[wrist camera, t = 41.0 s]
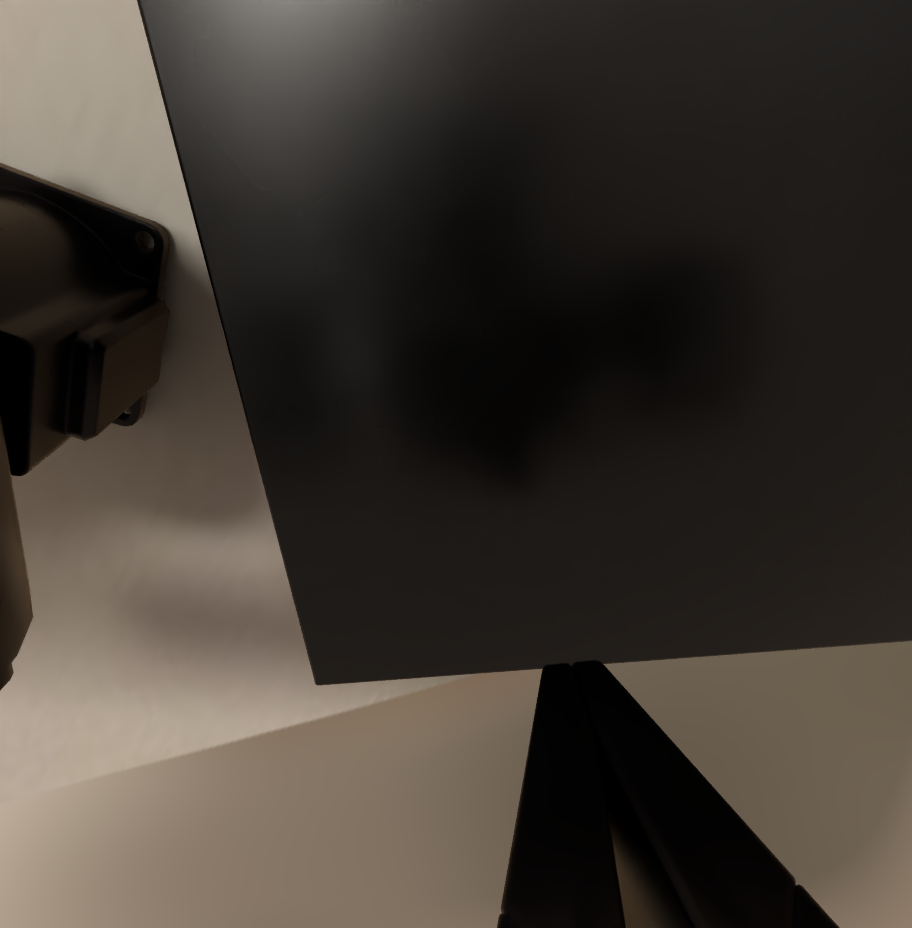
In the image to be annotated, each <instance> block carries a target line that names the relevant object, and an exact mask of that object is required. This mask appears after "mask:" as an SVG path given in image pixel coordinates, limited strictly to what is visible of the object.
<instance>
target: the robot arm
mask: <svg viewBox="0 0 912 928" xmlns="http://www.w3.org/2000/svg"><path fill="white" fill-rule="evenodd" d="M143 231H144V232H147V233H149V234H150V235H151V236H152V238H153V239H154V247H153V248H149V247H147V246H145V245H144V243H143V242H142V239H141V234H142V232H143ZM168 250H169V238H168V236H167V234H166V231H165V230H164V229H163V228H162V227H161V226H160V225H159V224H157V223H155V222H154V221H151V220H149V219H146V218H143V217H141V216H138V215H136V214H133V213H130V212H128V211H125V210H122V209H120V208H117V207H114V206H112V205H109V204H107V203H104V202H101V201H99V200H96V199H93V198H91V197H88V196H86V195H83V194H80V193H78V192H75V191H72V190H70V189H67V188H64V187H62V186H59V185H57V184H54V183H51V182H49V181H46V180H43V179H41V178H38V177H35V176H33V175H30V174H28V173H25V172H22V171H20V170H17V169H14V168H12V167H9V166H7V165H4V164H1V163H0V690H1V689H2V688H3V687H4V686H5V685H6V684H7V683H8V682H9V681H10V679H11V677H12V675H13V668H12V661H13V660H14V659H15V657H16V656H17V654H18V652H19V650H20V647H21V645H22V643H23V640H24V638H25V635H26V633H27V631H28V628H29V626H30V623H31V621H32V618H33V612H32V604H31V595H30V587H29V581H28V575H27V569H26V563H25V557H24V551H23V544H22V538H21V532H20V526H19V520H18V514H17V508H16V502H15V496H14V490H13V484H12V478H11V475H14V476H22V475H25V474H27V473H28V472H29V471H30V470H32V469H33V468H34V467H35V466H37V465H38V464H39V463H40V462H41V461H43V460H44V459H45V458H46V457H48V456H49V455H50V454H51V453H52V452H54V451H55V450H56V449H57V448H58V447H60V446H61V445H62V444H63V443H65V442H66V441H67V440H68V439H69V438H71V437H73V438H76V439H80V440H83V441H86V440H88V439H90V438H93V437H95V436H97V435H98V434H99V433H100V432H102V431H103V430H104V429H105V428H106V427H107V426H108V425H110V424H111V423H114V424H118V425H122V426H130V425H133V424H134V423H136V422H137V421H138V420H139V419H140V418H141V417H142V416H143V413H144V409H145V403H146V396H147V391H148V390H149V389H150V388H152V387H153V386H154V385H155V384H156V383H157V382H158V379H159V373H160V367H161V361H162V355H163V348H164V342H165V336H166V329H167V323H168V317H169V308H168V306H167V304H166V303H165V301H164V300H162V299H161V296H162V290H163V283H164V276H165V270H166V263H167V256H168ZM127 409H129V410H130V413H131V414H126V413H125V412H124V411H125V410H127ZM501 912H502V914H500V916H499V919H498V925H497V928H839V926H838V925H837V924H836V923H835V922H834V921H833V920H832V919H831V918H830V917H829V916H828V915H827V913H826V912H825V911H824V910H823V909H822V908H821V907H820V905H819V904H818V903H817V902H816V901H815V900H814V899H813V898H812V897H811V896H810V894H809V893H808V892H807V891H806V890H805V889H804V887H803V886H801V885H796V881H795V878H794V877H793V876H792V874H790V873H789V871H788V870H787V869H786V868H785V867H784V866H783V864H782V863H781V862H780V861H779V860H778V859H777V858H776V857H775V855H774V854H773V853H772V852H771V851H770V850H769V849H768V848H767V847H766V845H765V844H764V843H763V842H762V841H761V840H760V839H759V838H758V837H757V835H756V834H755V833H754V832H753V831H752V830H751V829H750V828H749V826H748V825H747V824H746V823H745V822H744V821H743V820H742V819H741V818H740V816H739V815H738V814H737V813H736V812H735V811H734V810H733V809H732V807H731V806H730V805H729V804H728V803H727V802H726V801H725V800H724V799H723V797H722V796H721V795H720V794H719V793H718V792H717V791H716V790H715V788H714V787H713V786H712V785H711V784H710V783H709V782H708V781H707V780H706V778H705V777H704V776H703V775H702V774H701V773H700V772H699V771H698V769H697V768H696V767H695V766H694V765H693V764H692V763H691V762H690V761H689V759H688V758H687V757H686V756H685V755H684V754H683V753H682V752H681V750H680V749H679V748H678V747H677V746H676V745H675V744H674V743H673V742H672V740H671V739H670V738H669V737H668V736H667V735H666V734H665V733H664V731H663V730H662V729H661V728H660V727H659V726H658V725H657V724H656V723H655V721H654V720H653V719H652V718H651V717H650V716H649V715H648V714H647V712H646V711H645V710H644V709H643V708H642V707H641V706H640V705H639V704H638V702H637V701H636V700H635V699H634V698H633V697H632V696H631V695H630V693H628V691H627V690H626V689H625V688H624V687H623V686H622V685H621V683H620V682H619V681H618V680H617V679H616V678H615V677H614V676H613V675H612V674H611V672H610V671H609V670H608V669H607V668H606V667H605V666H604V665H603V664H602V663H601V662H600V661H598V660H588V661H578V662H574V663H573V664H572V666H571V665H570V664H568V663H558V664H548V665H545V666H544V667H543V670H542V675H541V680H540V686H539V692H538V698H537V703H536V709H535V715H534V721H533V726H532V732H531V738H530V744H529V749H528V755H527V761H526V767H525V772H524V778H523V784H522V790H521V795H520V801H519V807H518V812H517V818H516V824H515V830H514V835H513V841H512V847H511V853H510V858H509V865H508V870H507V876H506V881H505V887H504V893H503V899H502V905H501Z"/></svg>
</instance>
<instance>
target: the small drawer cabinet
mask: <svg viewBox="0 0 912 928" xmlns="http://www.w3.org/2000/svg"><path fill="white" fill-rule="evenodd" d="M137 2H138V6H139V10H140V14H141V17H142V21H143V25H144V29H145V33H146V37H147V40H148V44H149V48H150V52H151V56H152V59H153V63H154V67H155V71H156V75H157V79H158V82H159V86H160V90H161V94H162V98H163V102H164V105H165V109H166V113H167V117H168V121H169V125H170V128H171V132H172V136H173V140H174V144H175V148H176V151H177V155H178V159H179V163H180V167H181V171H182V174H183V178H184V182H185V186H186V190H187V194H188V197H189V201H190V205H191V209H192V213H193V217H194V220H195V224H196V228H197V232H198V236H199V240H200V243H201V247H202V251H203V255H204V259H205V263H206V266H207V270H208V274H209V278H210V282H211V286H212V289H213V293H214V297H215V301H216V305H217V308H218V312H219V316H220V320H221V324H222V328H223V331H224V335H225V339H226V343H227V347H228V351H229V354H230V358H231V362H232V366H233V370H234V374H235V377H236V381H237V385H238V389H239V393H240V397H241V400H242V404H243V408H244V412H245V416H246V420H247V423H248V427H249V431H250V435H251V439H252V443H253V446H254V450H255V454H256V458H257V462H258V466H259V469H260V473H261V477H262V481H263V485H264V489H265V492H266V496H267V500H268V504H269V508H270V512H271V515H272V519H273V523H274V527H275V531H276V535H277V538H278V542H279V546H280V550H281V554H282V558H283V561H284V565H285V569H286V573H287V577H288V580H289V584H290V588H291V592H292V596H293V600H294V603H295V607H296V611H297V615H298V619H299V623H300V626H301V630H302V634H303V638H304V642H305V646H306V649H307V653H308V657H309V661H310V665H311V669H312V672H313V676H314V680H315V684H316V685H330V684H343V683H357V682H370V681H383V680H397V679H410V678H423V677H437V676H450V675H463V674H477V673H490V672H504V671H516V670H530V669H543V667H544V666H545V665H548V664H558V663H568V664H570V665H571V666H572V664H573V663H574V662H578V661H588V660H598V661H600V662H601V663H602V664H610V663H624V662H637V661H650V660H663V659H676V658H690V657H703V656H717V655H730V654H744V653H756V652H770V651H784V650H797V649H811V648H824V647H837V646H850V645H864V644H876V643H891V642H904V641H912V0H137Z"/></svg>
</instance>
